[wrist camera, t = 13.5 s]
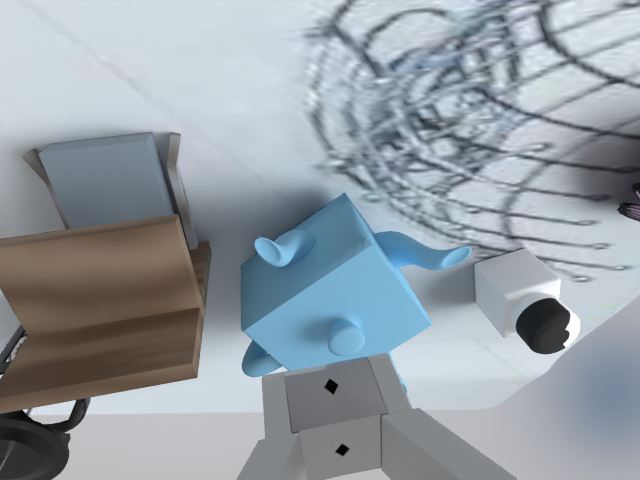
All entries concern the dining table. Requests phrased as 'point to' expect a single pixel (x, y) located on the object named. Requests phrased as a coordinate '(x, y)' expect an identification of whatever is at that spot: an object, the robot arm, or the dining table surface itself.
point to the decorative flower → (631, 205)
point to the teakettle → (332, 292)
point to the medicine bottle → (525, 301)
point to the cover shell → (108, 179)
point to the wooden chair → (104, 303)
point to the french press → (33, 433)
